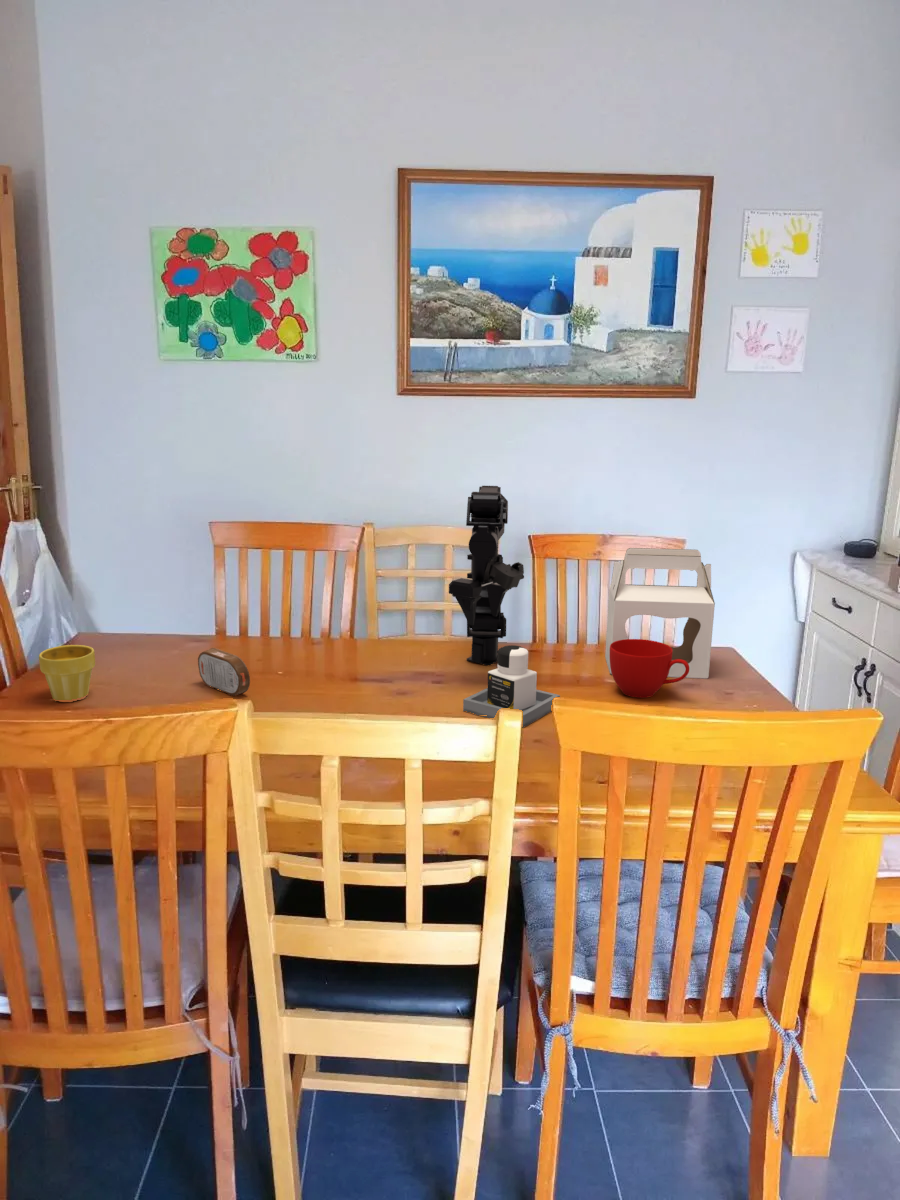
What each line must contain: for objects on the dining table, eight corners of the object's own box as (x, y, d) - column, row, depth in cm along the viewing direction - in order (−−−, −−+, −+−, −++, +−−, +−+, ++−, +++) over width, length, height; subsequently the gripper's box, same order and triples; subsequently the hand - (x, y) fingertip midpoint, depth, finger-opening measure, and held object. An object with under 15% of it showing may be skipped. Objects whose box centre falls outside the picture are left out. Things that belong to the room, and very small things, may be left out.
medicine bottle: (486, 704, 178) (487, 647, 175) (509, 696, 183) (511, 640, 180) (512, 714, 173) (514, 655, 170) (536, 705, 178) (538, 648, 175)
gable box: (608, 675, 199) (616, 553, 192) (604, 657, 211) (610, 542, 205) (709, 679, 197) (720, 555, 190) (698, 661, 210) (708, 544, 203)
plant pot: (95, 703, 177) (91, 657, 175) (39, 708, 174) (34, 661, 172) (100, 687, 187) (96, 642, 185) (47, 691, 184) (42, 646, 182)
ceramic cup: (676, 711, 177) (680, 664, 174) (597, 695, 186) (600, 649, 183) (695, 693, 188) (699, 648, 185) (620, 678, 196) (623, 635, 194)
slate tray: (501, 692, 187) (501, 681, 186) (559, 706, 179) (560, 695, 178) (463, 711, 176) (463, 699, 175) (523, 727, 168) (523, 715, 167)
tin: (252, 696, 182) (250, 658, 180) (239, 701, 180) (237, 661, 178) (209, 680, 192) (206, 643, 190) (196, 684, 190) (194, 646, 188)
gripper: (492, 561, 178) (490, 636, 181) (539, 548, 192) (536, 617, 196) (447, 554, 184) (446, 626, 188) (496, 542, 199) (494, 609, 202)
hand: (483, 620), depth 193 cm, fingers open, 9 cm apart
